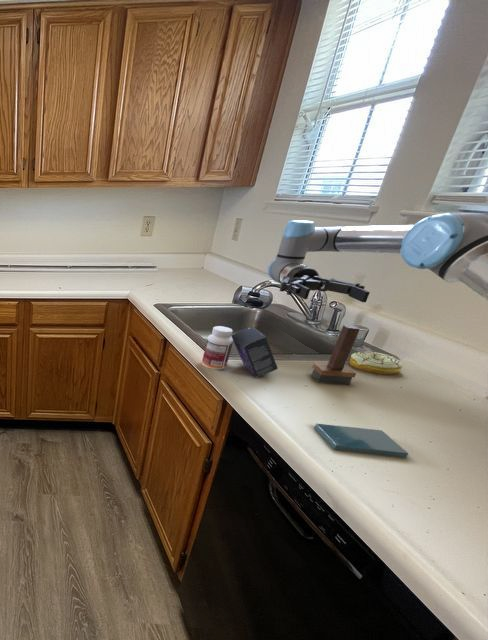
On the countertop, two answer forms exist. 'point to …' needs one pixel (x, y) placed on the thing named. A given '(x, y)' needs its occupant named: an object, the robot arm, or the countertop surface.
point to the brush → (338, 360)
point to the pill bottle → (218, 348)
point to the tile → (360, 440)
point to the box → (254, 351)
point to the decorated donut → (375, 362)
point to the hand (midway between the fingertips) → (336, 295)
